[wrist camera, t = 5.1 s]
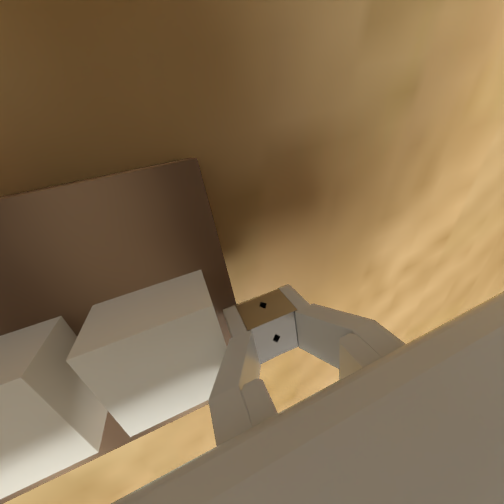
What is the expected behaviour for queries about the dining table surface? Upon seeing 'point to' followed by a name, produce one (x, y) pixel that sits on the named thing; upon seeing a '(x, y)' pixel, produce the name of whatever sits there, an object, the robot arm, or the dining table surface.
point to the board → (106, 254)
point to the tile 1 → (43, 406)
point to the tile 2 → (151, 351)
